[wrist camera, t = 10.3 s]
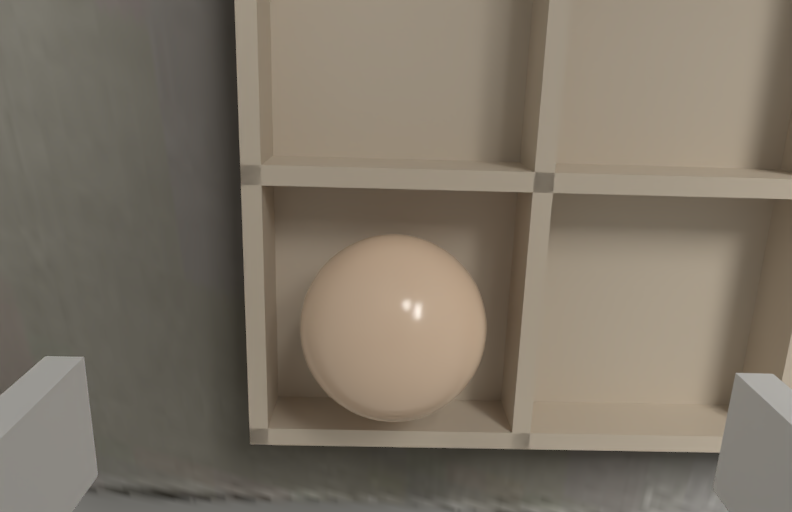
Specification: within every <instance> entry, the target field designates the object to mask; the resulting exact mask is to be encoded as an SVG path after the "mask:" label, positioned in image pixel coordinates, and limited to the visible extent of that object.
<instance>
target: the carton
mask: <svg viewBox="0 0 792 512" xmlns="http://www.w3.org/2000/svg"><path fill="white" fill-rule="evenodd" d="M234 3H235V32H236V60H237V89H238V117H239V146H240V174H241V203H242V231H243V260H244V288H245V317H246V345H247V374H248V402H249V431H250V445H302V446H361V447H419V448H478V449H537V450H596V451H654V452H713V453H720V449H721V444H722V439H723V434H724V429H725V424H726V419H727V414H728V409H729V403H730V398H731V393H732V388H733V383H734V378H735V373H763V374H774V375H775V376H776V377H778V378H779V379H780V380H781V381H782V382H784V383H785V384H786V385H787V386H788V387H789V388H791V389H792V0H234ZM385 234H400V235H409V236H414V237H418V238H421V239H424V240H427V241H429V242H432V243H434V244H435V245H437V246H439V247H441V248H443V249H444V250H446V251H447V252H449V253H450V254H452V255H453V256H454V257H455V258H456V259H457V260H458V261H459V262H460V263H461V264H462V265H463V266H464V268H465V269H466V270H467V271H468V273H469V274H470V276H471V277H472V279H473V280H474V282H475V283H476V285H477V288H478V290H479V292H480V294H481V298H482V301H483V304H484V308H485V314H486V321H487V333H486V341H485V348H484V352H483V355H482V359H481V361H480V364H479V366H478V368H477V370H476V372H475V374H474V376H473V377H472V379H471V381H470V382H469V384H468V385H467V386H466V387H465V389H464V390H463V391H462V392H461V393H460V394H459V395H458V396H457V397H456V398H455V399H454V400H452V401H451V402H450V403H448V404H447V405H446V406H444V407H443V408H441V409H439V410H437V411H436V412H434V413H432V414H429V415H427V416H424V417H421V418H418V419H414V420H409V421H403V422H386V421H378V420H373V419H369V418H365V417H362V416H359V415H357V414H355V413H353V412H351V411H349V410H347V409H346V408H344V407H342V406H341V405H339V404H338V403H337V402H335V401H334V400H333V399H332V398H330V397H329V396H328V395H327V393H326V392H325V391H324V390H323V389H322V388H321V387H320V385H319V384H318V382H317V381H316V380H315V378H314V377H313V375H312V373H311V371H310V369H309V367H308V365H307V362H306V360H305V357H304V353H303V349H302V344H301V337H300V318H301V312H302V307H303V302H304V299H305V296H306V294H307V291H308V289H309V287H310V285H311V283H312V281H313V280H314V278H315V276H316V275H317V274H318V272H319V271H320V269H321V268H322V267H323V266H324V265H325V264H326V263H327V261H328V260H329V259H331V258H332V257H333V256H334V255H335V254H337V253H338V252H339V251H341V250H342V249H344V248H346V247H347V246H349V245H351V244H353V243H355V242H358V241H360V240H362V239H366V238H369V237H372V236H378V235H385Z"/></svg>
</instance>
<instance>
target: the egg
mask: <svg viewBox="0 0 792 512" xmlns="http://www.w3.org/2000/svg"><path fill="white" fill-rule="evenodd" d="M486 333H487V321H486V314H485V308H484V304H483V301H482V298H481V294H480V292H479V290H478V288H477V285H476V283H475V282H474V280H473V279H472V277H471V276H470V274H469V273H468V271H467V270H466V269H465V268H464V266H463V265H462V264H461V263H460V262H459V261H458V260H457V259H456V258H455V257H454V256H453V255H452V254H450V253H449V252H447V251H446V250H444V249H443V248H441V247H439V246H437V245H435V244H434V243H432V242H429V241H427V240H424V239H421V238H418V237H414V236H409V235H400V234H385V235H378V236H372V237H369V238H366V239H362V240H360V241H358V242H355V243H353V244H351V245H349V246H347V247H346V248H344V249H342V250H341V251H339V252H338V253H337V254H335V255H334V256H333V257H332V258H331V259H329V260H328V261H327V263H326V264H325V265H324V266H323V267H322V268H321V269H320V271H319V272H318V274H317V275H316V276H315V278H314V280H313V281H312V283H311V285H310V287H309V289H308V291H307V294H306V296H305V299H304V302H303V307H302V312H301V318H300V337H301V344H302V349H303V353H304V357H305V360H306V362H307V365H308V367H309V369H310V371H311V373H312V375H313V377H314V378H315V380H316V381H317V382H318V384H319V385H320V387H321V388H322V389H323V390H324V391H325V392H326V393H327V395H328V396H329V397H330V398H332V399H333V400H334V401H335V402H337V403H338V404H339V405H341V406H342V407H344V408H346V409H347V410H349V411H351V412H353V413H355V414H357V415H359V416H362V417H365V418H369V419H373V420H378V421H386V422H403V421H409V420H414V419H418V418H421V417H424V416H427V415H429V414H432V413H434V412H436V411H437V410H439V409H441V408H443V407H444V406H446V405H447V404H448V403H450V402H451V401H452V400H454V399H455V398H456V397H457V396H458V395H459V394H460V393H461V392H462V391H463V390H464V389H465V387H466V386H467V385H468V384H469V382H470V381H471V379H472V377H473V376H474V374H475V372H476V370H477V368H478V366H479V364H480V361H481V359H482V355H483V352H484V348H485V341H486Z"/></svg>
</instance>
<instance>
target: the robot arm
mask: <svg viewBox="0 0 792 512" xmlns="http://www.w3.org/2000/svg"><path fill="white" fill-rule="evenodd" d="M97 476H98V469H97V461H96V452H95V444H94V436H93V427H92V419H91V410H90V402H89V394H88V385H87V377H86V368H85V360H84V357H68V356H45V357H44V358H43V359H41V360H40V361H39V362H38V363H37V364H36V365H35V366H33V367H32V368H31V369H30V370H29V371H28V372H26V373H25V374H24V375H23V376H22V377H21V378H20V379H18V380H17V381H16V382H15V383H14V384H13V385H11V386H10V387H9V388H8V389H7V390H6V391H5V392H3V393H2V394H1V395H0V512H73V511H74V509H75V508H76V506H77V505H78V503H79V502H80V501H81V499H82V498H83V496H84V495H85V494H86V492H87V491H88V489H89V488H90V486H91V485H92V484H93V482H94V481H95V479H96V478H97ZM713 490H714V492H715V493H716V494H717V496H718V497H719V498H720V500H721V501H722V502H723V504H724V505H725V506H726V508H727V509H728V511H729V512H792V389H791V388H789V387H788V386H787V385H786V384H785V383H784V382H782V381H781V380H780V379H779V378H778V377H776V376H775V375H774V374H763V373H735V378H734V383H733V388H732V393H731V398H730V403H729V409H728V414H727V419H726V424H725V429H724V434H723V439H722V444H721V449H720V454H719V459H718V464H717V469H716V474H715V479H714V484H713Z"/></svg>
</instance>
